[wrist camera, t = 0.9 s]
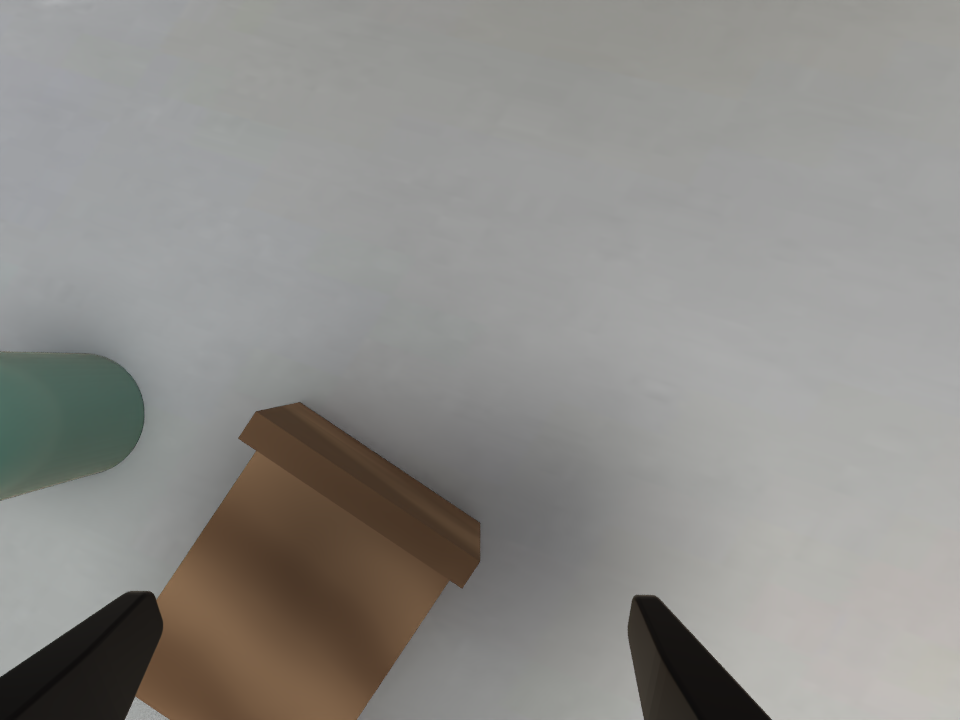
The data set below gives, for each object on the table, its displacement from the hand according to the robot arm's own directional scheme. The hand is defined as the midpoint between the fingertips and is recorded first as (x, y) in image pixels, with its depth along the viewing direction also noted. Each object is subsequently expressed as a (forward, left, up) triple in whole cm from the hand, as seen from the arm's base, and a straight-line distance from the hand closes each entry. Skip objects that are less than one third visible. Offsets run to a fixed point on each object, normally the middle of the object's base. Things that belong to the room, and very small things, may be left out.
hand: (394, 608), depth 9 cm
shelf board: (-8, +2, -14) cm, 16 cm away
